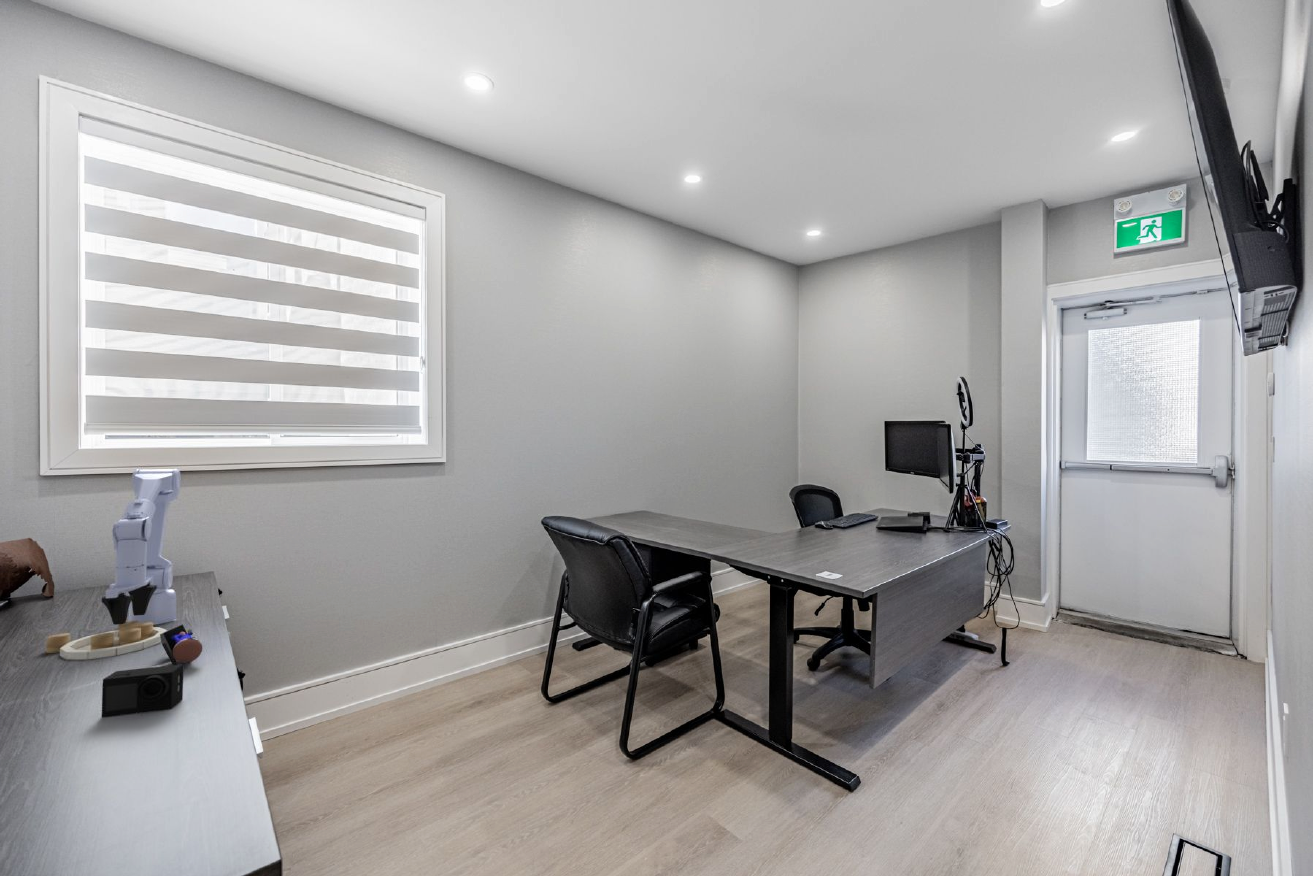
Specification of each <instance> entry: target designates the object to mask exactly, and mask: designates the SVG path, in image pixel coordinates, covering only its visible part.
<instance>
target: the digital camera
mask: <svg viewBox="0 0 1313 876" xmlns="http://www.w3.org/2000/svg"><path fill="white" fill-rule="evenodd" d="M101 686H102V689H101V690H102V691H101V718H110V717H119V716H126V715H127V716H128V715H135V714H144V713H151V712H159V711H166V710H168V711H169V710H172V709H173V708H174V707H176V706H177V705H178V704H179V703H180V702H182V701H183V696H184V693H183V692H184V664H182V663H181V664H178V665H172V664H171V665H165V666H164V665H162V666H154V667H153V666H152V667H144V668H143V667H142V668H132V669H126V670H125V669H124V670H123V669H122V670H117V671H114V672H113V673H111V674H109V675H108V676H106V677H105V678H103V679H102V685H101Z"/></svg>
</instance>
